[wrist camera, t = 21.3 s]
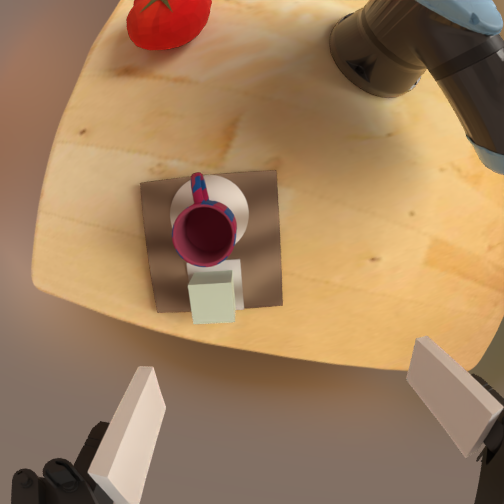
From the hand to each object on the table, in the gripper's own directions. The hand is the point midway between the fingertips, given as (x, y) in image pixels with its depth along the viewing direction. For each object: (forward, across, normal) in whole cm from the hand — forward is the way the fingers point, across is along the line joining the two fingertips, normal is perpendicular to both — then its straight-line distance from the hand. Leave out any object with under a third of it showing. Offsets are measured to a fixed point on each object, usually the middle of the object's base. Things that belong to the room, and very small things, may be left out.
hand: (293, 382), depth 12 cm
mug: (+25, -6, +6) cm, 26 cm away
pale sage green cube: (+25, -6, -4) cm, 26 cm away
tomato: (+27, -10, +35) cm, 45 cm away
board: (+27, -6, +2) cm, 27 cm away
